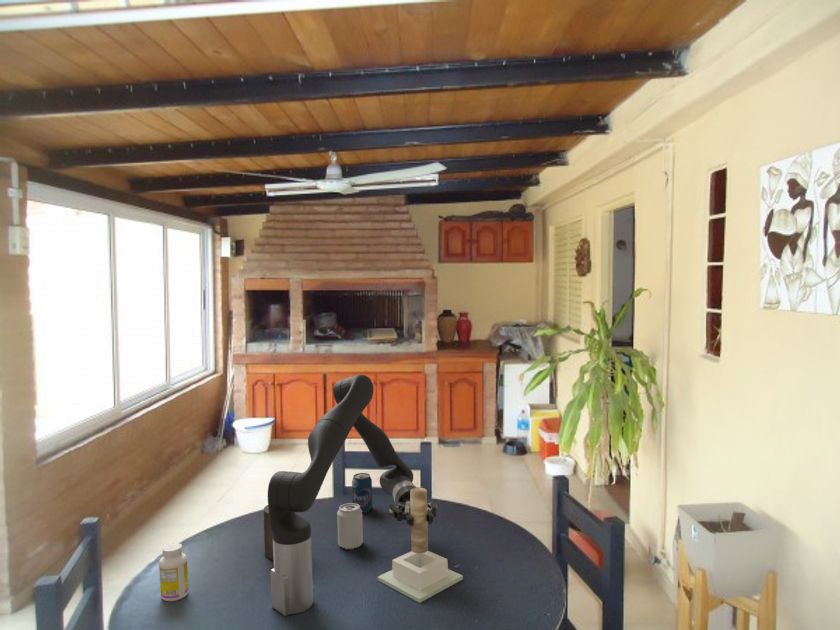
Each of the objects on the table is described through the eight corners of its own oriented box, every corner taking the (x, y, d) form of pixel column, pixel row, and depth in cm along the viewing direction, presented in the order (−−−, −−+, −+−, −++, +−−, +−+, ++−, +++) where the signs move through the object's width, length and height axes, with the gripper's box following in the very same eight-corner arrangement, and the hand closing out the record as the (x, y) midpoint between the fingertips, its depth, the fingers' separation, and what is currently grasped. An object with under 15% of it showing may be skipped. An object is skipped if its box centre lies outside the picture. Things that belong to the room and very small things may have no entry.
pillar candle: (257, 557, 174) (256, 507, 173) (275, 543, 184) (274, 495, 183) (287, 562, 172) (286, 511, 170) (304, 547, 181) (303, 498, 180)
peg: (419, 555, 157) (418, 495, 155) (407, 549, 160) (406, 490, 159) (431, 549, 160) (430, 490, 159) (419, 544, 163) (418, 486, 162)
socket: (419, 602, 149) (419, 581, 149) (377, 580, 160) (377, 560, 160) (462, 579, 160) (462, 559, 160) (420, 559, 171) (420, 540, 171)
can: (365, 540, 185) (364, 501, 184) (360, 551, 177) (359, 511, 177) (341, 539, 186) (340, 501, 185) (335, 550, 178) (334, 510, 177)
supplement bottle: (180, 586, 159) (178, 538, 158) (193, 594, 155) (191, 545, 154) (155, 596, 154) (153, 548, 153) (169, 605, 150) (166, 555, 149)
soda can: (354, 514, 205) (353, 479, 204) (351, 506, 212) (350, 473, 211) (374, 511, 207) (373, 477, 206) (370, 504, 213) (369, 471, 213)
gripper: (382, 487, 171) (394, 510, 154) (431, 482, 174) (447, 504, 158) (383, 513, 172) (394, 538, 155) (431, 507, 175) (448, 532, 158)
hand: (421, 521), depth 156 cm, fingers closed on peg, 4 cm apart
